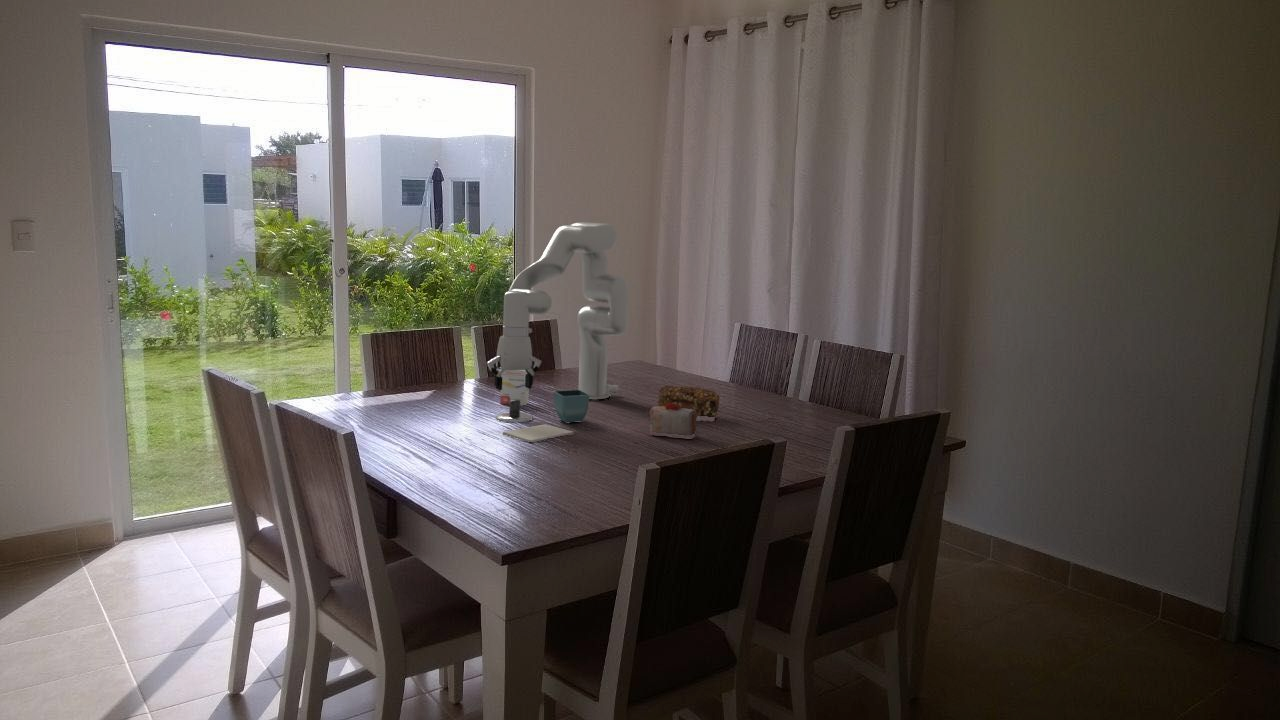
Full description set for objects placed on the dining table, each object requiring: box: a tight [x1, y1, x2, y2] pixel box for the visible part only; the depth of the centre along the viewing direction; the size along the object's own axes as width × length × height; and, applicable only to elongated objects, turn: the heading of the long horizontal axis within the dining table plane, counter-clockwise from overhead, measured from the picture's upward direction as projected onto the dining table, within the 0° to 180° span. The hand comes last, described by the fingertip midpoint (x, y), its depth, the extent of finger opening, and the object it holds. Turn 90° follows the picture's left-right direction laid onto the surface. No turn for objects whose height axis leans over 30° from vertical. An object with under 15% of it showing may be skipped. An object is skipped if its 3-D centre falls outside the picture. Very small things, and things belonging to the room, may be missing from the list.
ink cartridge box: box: [499, 370, 530, 406], centre depth 303 cm, size 9×5×15 cm, turn 84°
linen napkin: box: [502, 423, 574, 443], centre depth 264 cm, size 16×12×1 cm
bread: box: [657, 385, 720, 417], centre depth 293 cm, size 19×11×10 cm, turn 80°
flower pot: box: [552, 389, 590, 423], centre depth 281 cm, size 9×9×9 cm
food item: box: [649, 402, 697, 435], centre depth 269 cm, size 14×8×10 cm, turn 73°
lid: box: [495, 400, 534, 423], centre depth 283 cm, size 11×11×6 cm
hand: (513, 388), depth 281 cm, fingers open, 9 cm apart
